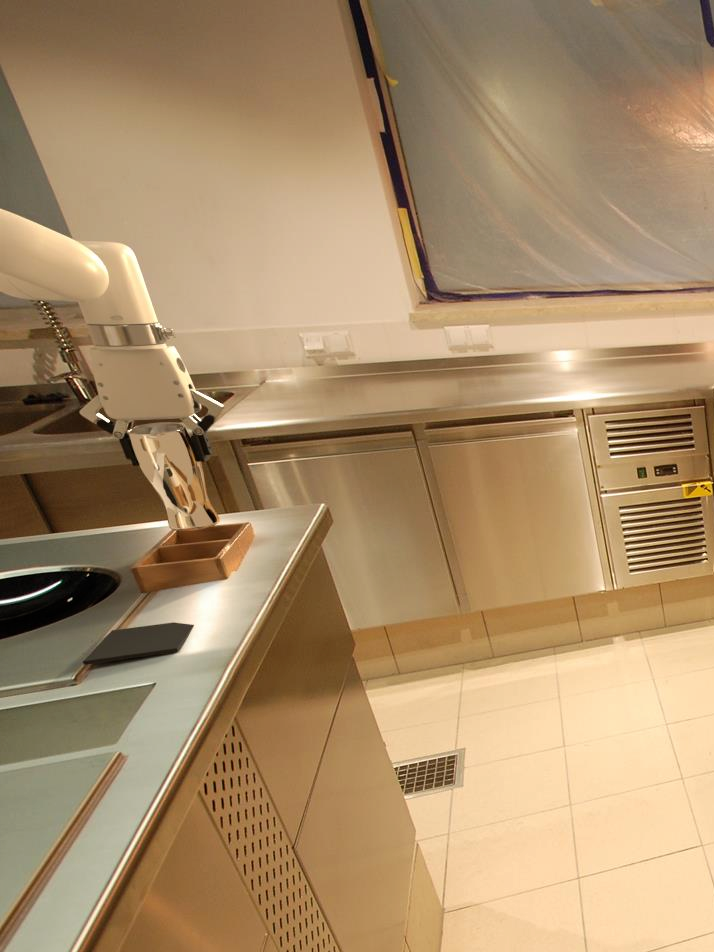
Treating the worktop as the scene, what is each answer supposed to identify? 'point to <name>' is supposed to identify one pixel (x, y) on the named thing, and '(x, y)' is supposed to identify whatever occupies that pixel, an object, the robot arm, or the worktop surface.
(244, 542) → the wooden divided tray
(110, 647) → the mat
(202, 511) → the beer glass
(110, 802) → the worktop surface
